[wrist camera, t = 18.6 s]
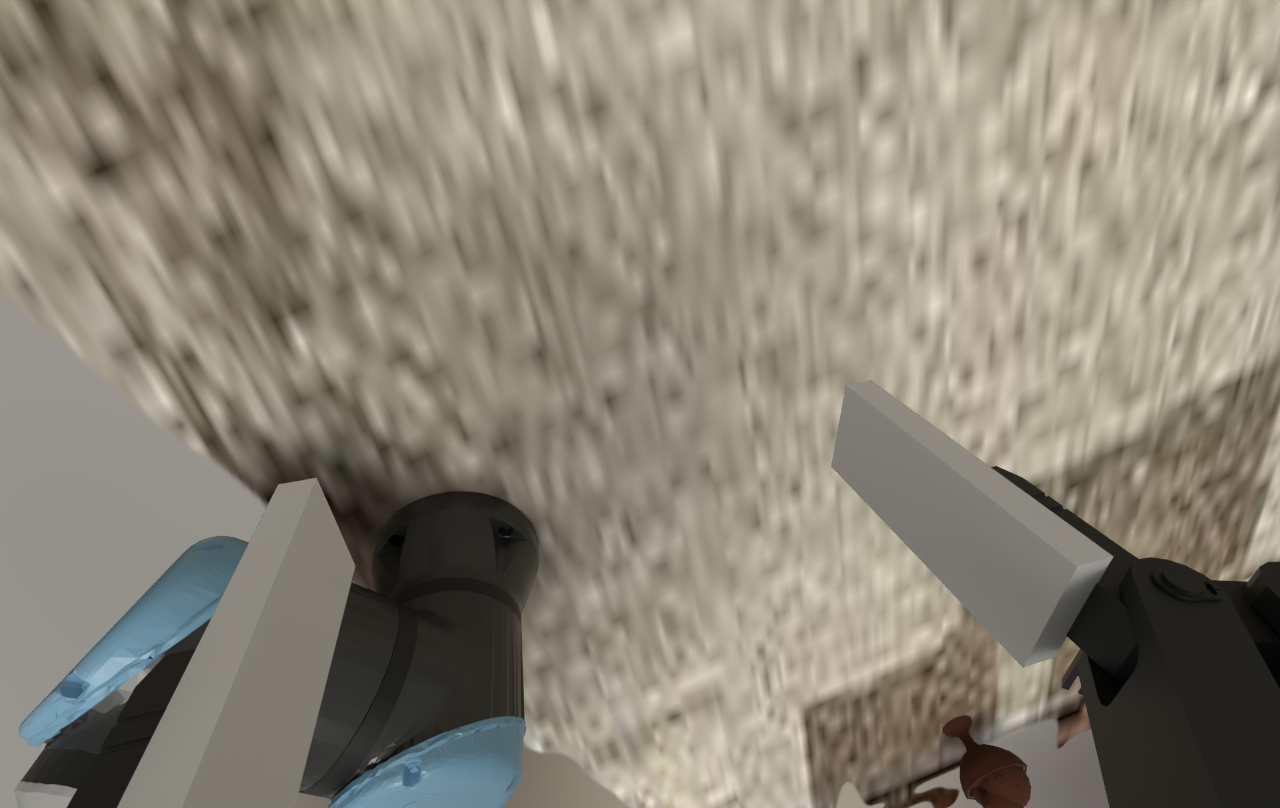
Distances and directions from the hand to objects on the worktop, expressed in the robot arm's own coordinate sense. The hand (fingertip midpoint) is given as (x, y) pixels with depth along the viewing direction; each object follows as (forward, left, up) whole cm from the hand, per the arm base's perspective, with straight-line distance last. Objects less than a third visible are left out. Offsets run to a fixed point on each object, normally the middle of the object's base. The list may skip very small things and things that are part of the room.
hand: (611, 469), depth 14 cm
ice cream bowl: (-86, -71, -30) cm, 115 cm away
